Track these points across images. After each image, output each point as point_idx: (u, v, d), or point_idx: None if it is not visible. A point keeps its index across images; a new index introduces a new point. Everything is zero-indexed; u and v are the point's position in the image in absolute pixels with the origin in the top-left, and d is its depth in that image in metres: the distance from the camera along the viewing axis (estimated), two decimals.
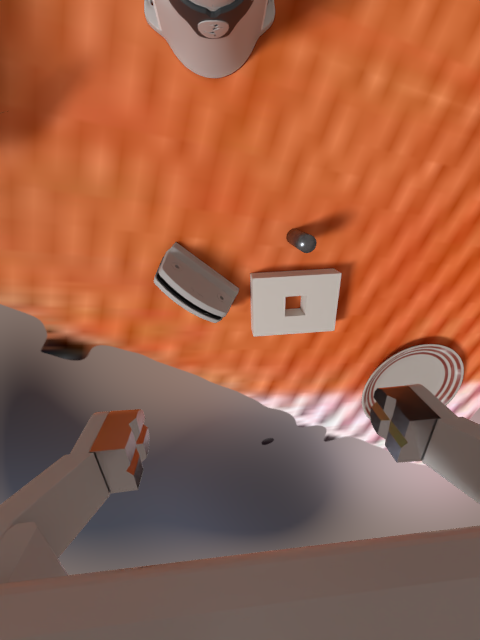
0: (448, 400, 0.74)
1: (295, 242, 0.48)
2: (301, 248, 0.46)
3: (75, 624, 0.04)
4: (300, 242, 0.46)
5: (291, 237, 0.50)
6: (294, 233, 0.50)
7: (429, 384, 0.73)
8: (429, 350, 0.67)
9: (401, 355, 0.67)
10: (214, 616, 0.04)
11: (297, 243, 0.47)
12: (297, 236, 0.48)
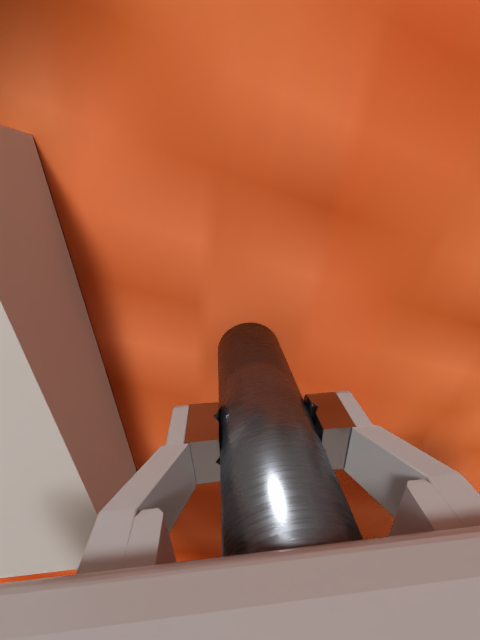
0: None
1: (276, 442, 0.07)
2: None
3: (76, 624, 0.04)
4: None
5: (271, 375, 0.09)
6: (292, 382, 0.09)
7: None
8: None
9: None
10: (214, 616, 0.04)
11: (292, 497, 0.05)
12: (311, 435, 0.07)
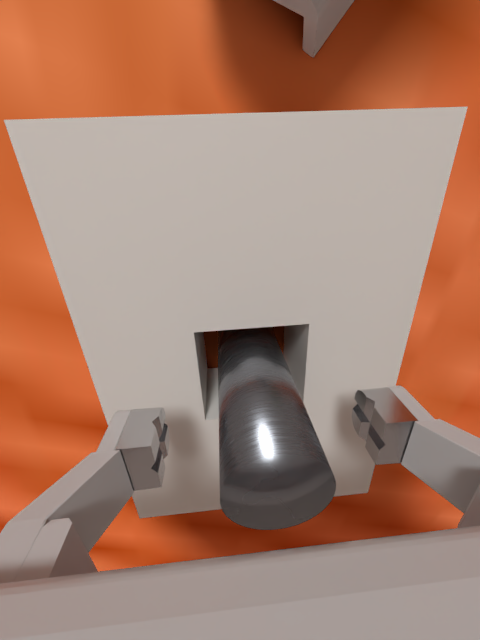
0: None
1: (262, 389, 0.08)
2: (250, 471, 0.06)
3: (76, 624, 0.04)
4: (291, 459, 0.06)
5: (261, 345, 0.11)
6: (279, 352, 0.11)
7: None
8: None
9: None
10: (214, 616, 0.04)
11: (271, 421, 0.07)
12: (291, 387, 0.09)
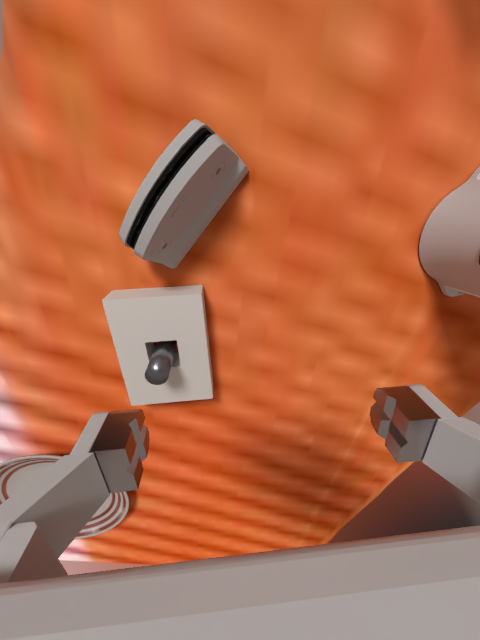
0: None
1: (157, 356, 0.36)
2: (149, 369, 0.34)
3: (75, 624, 0.04)
4: (157, 367, 0.34)
5: (164, 346, 0.39)
6: (170, 348, 0.39)
7: None
8: (118, 497, 0.56)
9: None
10: (214, 616, 0.04)
11: (156, 361, 0.35)
12: (166, 356, 0.37)
